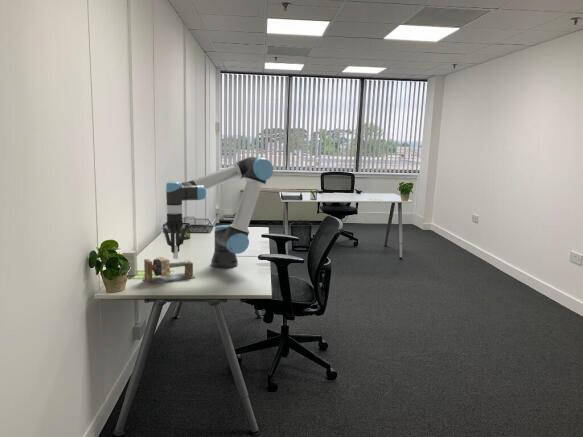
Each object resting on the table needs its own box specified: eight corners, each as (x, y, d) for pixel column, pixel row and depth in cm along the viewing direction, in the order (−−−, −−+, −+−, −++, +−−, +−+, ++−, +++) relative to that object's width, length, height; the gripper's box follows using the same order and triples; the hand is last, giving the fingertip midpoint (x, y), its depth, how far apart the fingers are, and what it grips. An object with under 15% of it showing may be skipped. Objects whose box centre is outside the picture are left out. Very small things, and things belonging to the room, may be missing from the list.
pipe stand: (188, 273, 231) (188, 253, 229) (194, 277, 224) (194, 257, 222) (142, 280, 217) (142, 258, 216) (148, 285, 210) (148, 263, 208)
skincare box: (137, 273, 228) (137, 250, 226) (135, 275, 224) (134, 252, 222) (125, 273, 228) (124, 250, 226) (122, 275, 223) (121, 252, 221)
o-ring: (156, 272, 220) (156, 257, 219) (161, 276, 214) (161, 261, 213) (152, 273, 219) (152, 257, 218) (158, 277, 213) (157, 261, 212)
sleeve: (164, 271, 223) (164, 256, 221) (169, 275, 216) (169, 260, 215) (156, 272, 220) (156, 257, 219) (161, 276, 214) (161, 261, 213)
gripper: (184, 210, 223) (184, 255, 228) (159, 212, 216) (160, 258, 220) (189, 212, 217) (190, 258, 222) (164, 214, 210) (165, 261, 214)
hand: (175, 258), depth 221 cm, fingers closed
